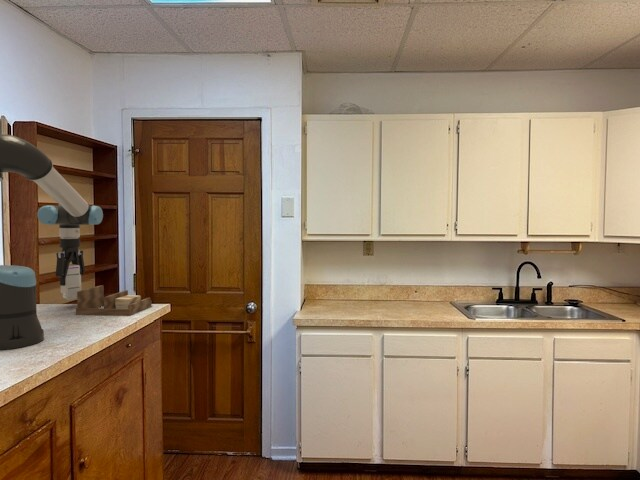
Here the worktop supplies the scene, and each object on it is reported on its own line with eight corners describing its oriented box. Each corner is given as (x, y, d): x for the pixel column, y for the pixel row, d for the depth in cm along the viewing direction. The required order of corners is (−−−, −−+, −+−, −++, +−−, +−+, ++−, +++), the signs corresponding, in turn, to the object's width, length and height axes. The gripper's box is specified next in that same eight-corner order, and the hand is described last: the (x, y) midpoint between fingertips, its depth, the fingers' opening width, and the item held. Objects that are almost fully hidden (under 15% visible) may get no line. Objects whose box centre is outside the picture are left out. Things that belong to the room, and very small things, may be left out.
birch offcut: (128, 306, 168) (128, 299, 168) (115, 306, 169) (115, 298, 169) (140, 302, 176) (140, 295, 176) (128, 302, 177) (127, 295, 177)
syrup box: (81, 298, 179) (80, 265, 178) (65, 300, 175) (65, 266, 174) (77, 296, 183) (76, 263, 182) (61, 298, 179) (60, 265, 178)
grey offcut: (130, 314, 168) (130, 306, 168) (116, 313, 169) (115, 306, 169) (140, 309, 176) (140, 302, 176) (126, 309, 177) (126, 302, 177)
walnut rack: (129, 315, 163) (128, 293, 163) (75, 314, 165) (75, 292, 165) (151, 306, 181) (151, 285, 181) (103, 305, 183) (102, 284, 183)
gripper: (61, 239, 167) (62, 295, 168) (93, 237, 187) (94, 287, 189) (43, 239, 167) (45, 295, 169) (77, 236, 188) (78, 287, 189)
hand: (71, 291), depth 179 cm, fingers closed on syrup box, 8 cm apart
